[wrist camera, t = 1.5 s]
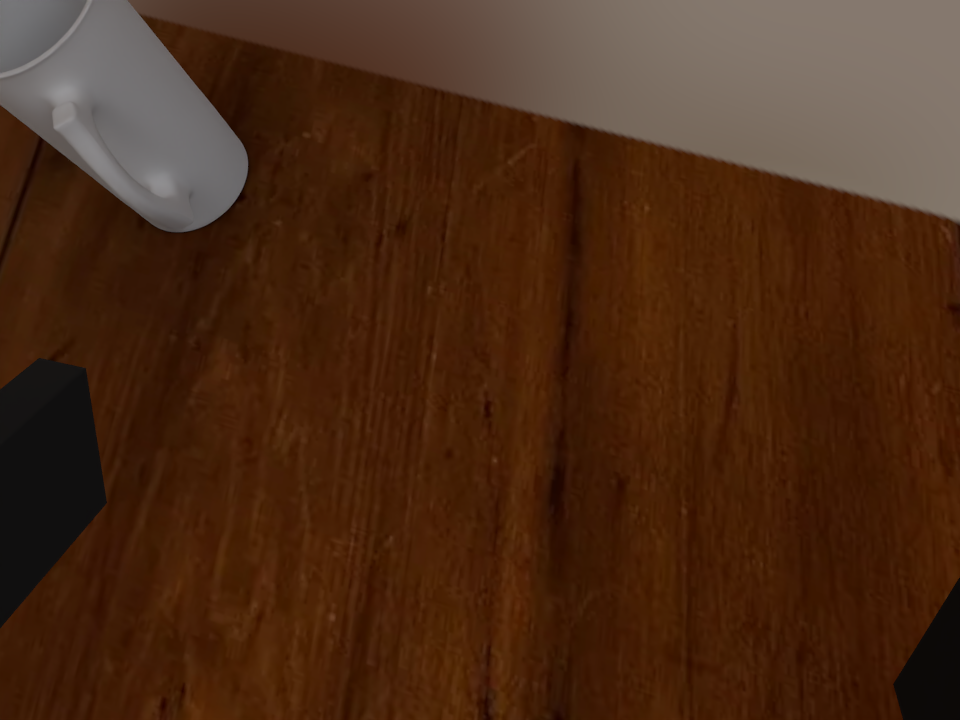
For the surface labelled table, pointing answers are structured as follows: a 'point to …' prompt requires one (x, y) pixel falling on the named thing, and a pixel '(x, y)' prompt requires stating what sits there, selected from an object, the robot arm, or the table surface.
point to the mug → (119, 108)
